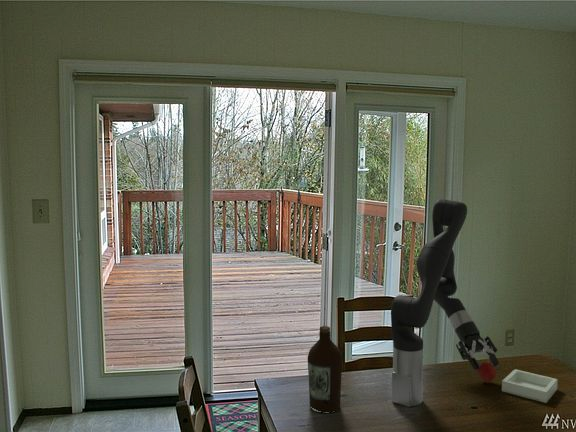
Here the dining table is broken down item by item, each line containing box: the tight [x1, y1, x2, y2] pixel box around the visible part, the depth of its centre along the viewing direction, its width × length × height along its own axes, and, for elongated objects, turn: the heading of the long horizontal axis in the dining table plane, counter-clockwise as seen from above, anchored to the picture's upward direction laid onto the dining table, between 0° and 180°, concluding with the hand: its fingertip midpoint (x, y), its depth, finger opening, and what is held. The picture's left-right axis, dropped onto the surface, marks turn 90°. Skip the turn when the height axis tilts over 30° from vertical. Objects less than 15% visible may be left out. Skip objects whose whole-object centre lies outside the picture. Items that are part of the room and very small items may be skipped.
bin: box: [501, 368, 558, 404], centre depth 163 cm, size 13×13×4 cm
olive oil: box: [307, 325, 343, 413], centre depth 151 cm, size 11×11×25 cm
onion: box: [477, 359, 497, 384], centre depth 169 cm, size 6×6×8 cm
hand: (487, 367), depth 168 cm, fingers open, 8 cm apart
